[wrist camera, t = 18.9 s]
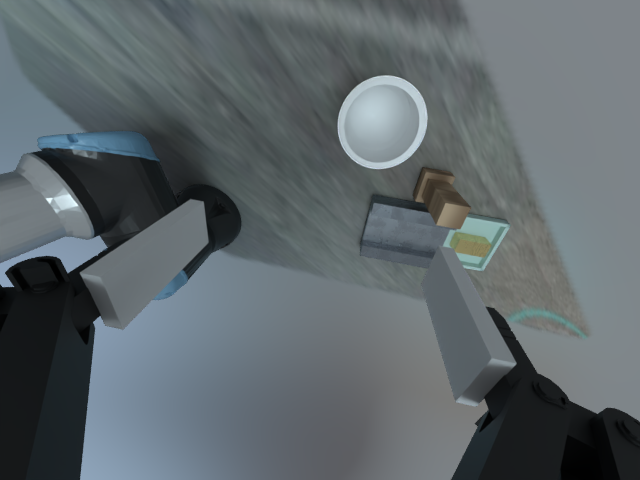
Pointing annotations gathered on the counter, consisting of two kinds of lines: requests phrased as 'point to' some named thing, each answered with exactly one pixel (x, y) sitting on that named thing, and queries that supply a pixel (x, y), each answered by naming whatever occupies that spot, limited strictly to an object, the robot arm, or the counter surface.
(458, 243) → the chip
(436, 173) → the stepped wooden block
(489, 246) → the yellow sponge cube
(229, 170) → the counter surface
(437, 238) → the slot board
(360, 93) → the jar
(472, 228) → the tray
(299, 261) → the counter surface
